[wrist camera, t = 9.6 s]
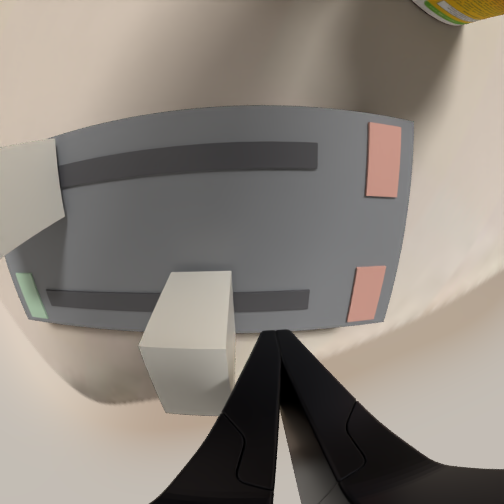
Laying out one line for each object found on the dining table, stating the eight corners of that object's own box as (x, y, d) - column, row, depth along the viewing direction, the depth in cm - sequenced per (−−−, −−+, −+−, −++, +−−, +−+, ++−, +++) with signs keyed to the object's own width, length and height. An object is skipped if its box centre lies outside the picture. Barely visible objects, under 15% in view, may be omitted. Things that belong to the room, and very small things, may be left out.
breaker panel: (381, 121, 10) (415, 121, 7) (363, 291, 13) (384, 323, 10) (19, 154, 9) (-16, 163, 7) (50, 294, 12) (27, 320, 10)
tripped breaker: (231, 270, 9) (225, 349, 6) (235, 336, 10) (233, 416, 7) (171, 272, 9) (138, 346, 6) (183, 336, 10) (165, 413, 7)
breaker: (55, 138, 7) (-22, 152, 3) (65, 216, 8) (-2, 260, 5) (19, 150, 7) (-51, 170, 3) (30, 220, 8) (-33, 261, 5)
